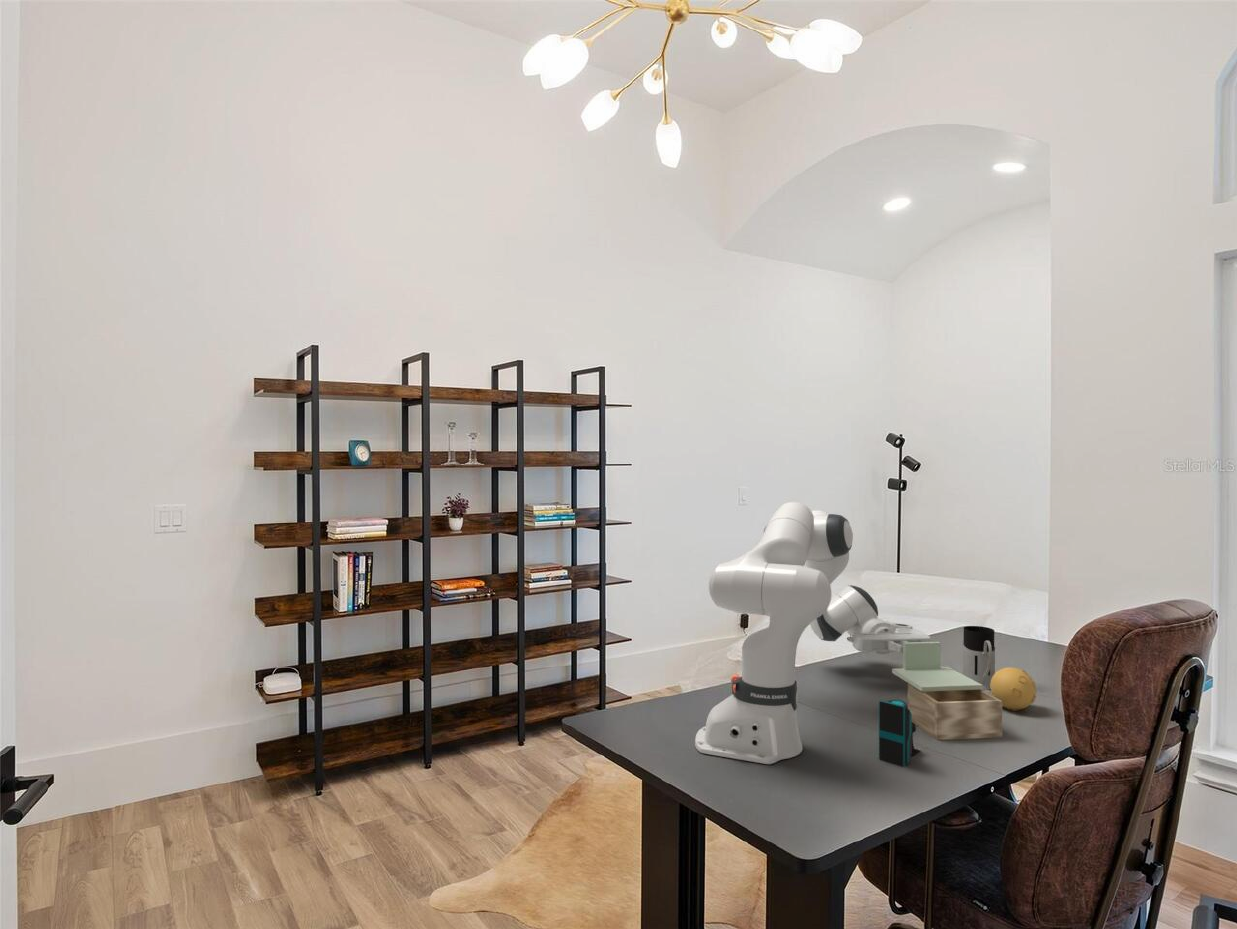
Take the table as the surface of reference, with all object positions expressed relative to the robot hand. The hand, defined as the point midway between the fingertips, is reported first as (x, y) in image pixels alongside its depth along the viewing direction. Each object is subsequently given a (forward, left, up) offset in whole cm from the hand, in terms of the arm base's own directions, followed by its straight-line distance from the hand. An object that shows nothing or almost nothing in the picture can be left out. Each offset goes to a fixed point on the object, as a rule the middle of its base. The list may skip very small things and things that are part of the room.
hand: (905, 649), depth 188 cm
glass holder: (+21, +12, -12) cm, 27 cm away
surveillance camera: (-7, -39, -12) cm, 42 cm away
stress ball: (+24, -4, -12) cm, 27 cm away
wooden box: (+7, -20, -12) cm, 25 cm away
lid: (+5, -13, -4) cm, 15 cm away
